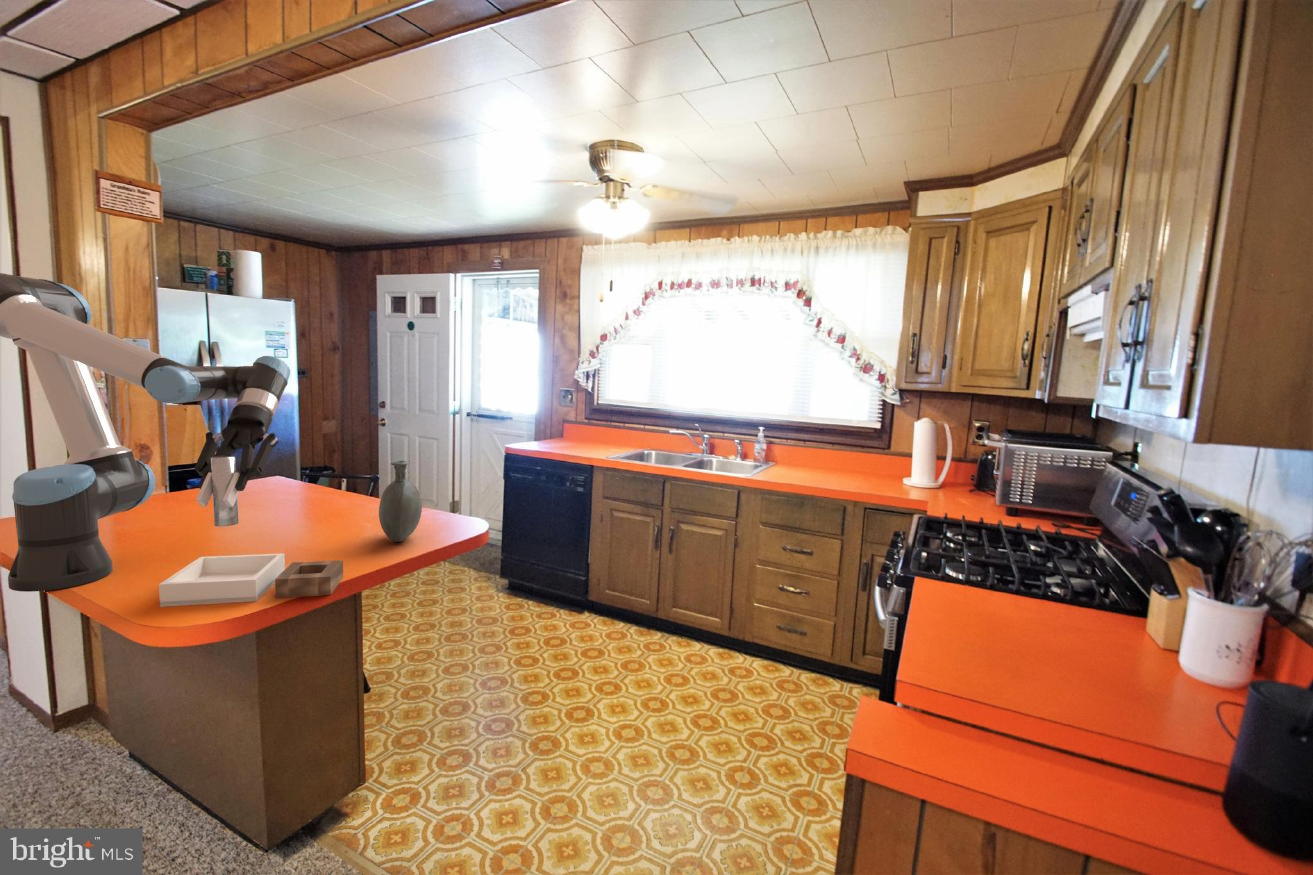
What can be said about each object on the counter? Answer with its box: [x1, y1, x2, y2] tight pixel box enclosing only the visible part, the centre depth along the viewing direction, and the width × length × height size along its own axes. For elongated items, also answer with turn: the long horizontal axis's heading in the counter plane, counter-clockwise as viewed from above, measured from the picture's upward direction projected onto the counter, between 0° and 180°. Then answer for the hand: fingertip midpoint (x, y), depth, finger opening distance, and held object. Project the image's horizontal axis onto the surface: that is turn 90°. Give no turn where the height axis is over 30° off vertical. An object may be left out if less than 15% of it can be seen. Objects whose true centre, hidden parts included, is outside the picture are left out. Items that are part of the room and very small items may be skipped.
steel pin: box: [211, 455, 240, 528], centre depth 115 cm, size 4×4×14 cm
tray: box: [158, 553, 286, 608], centre depth 117 cm, size 16×16×4 cm
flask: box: [378, 460, 423, 543], centre depth 153 cm, size 12×17×22 cm
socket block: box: [274, 560, 344, 599], centre depth 120 cm, size 10×10×4 cm
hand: (214, 503), depth 112 cm, fingers closed on steel pin, 4 cm apart
